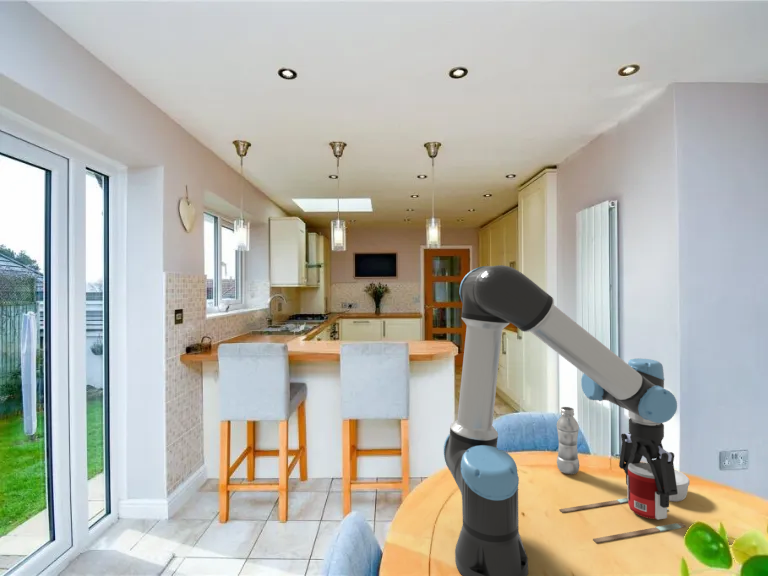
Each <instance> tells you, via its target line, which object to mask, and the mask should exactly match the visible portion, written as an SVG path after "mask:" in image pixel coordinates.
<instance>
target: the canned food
mask: <svg viewBox="0 0 768 576" xmlns="http://www.w3.org/2000/svg"><path fill="white" fill-rule="evenodd" d="M663 488H664V487H663ZM657 491H658V489H657V486H656V483H655V478H654V476H653V473H652V470H651V467H650V464H648V462H643V461H640V463H636V464H632V463H630V464H629V465H628V485H627V498H628V502H627V503H628V506H629V508H630V510H631V511H632V512H633V513H635V514H636V515H638V516H640V517H643V518H645V519H651V520H657V519H656V518H655V492H657Z"/></svg>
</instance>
